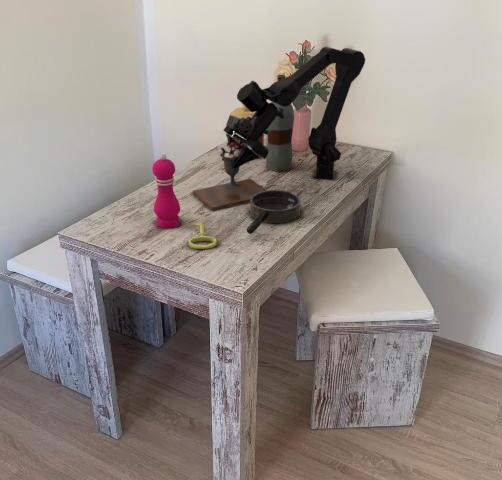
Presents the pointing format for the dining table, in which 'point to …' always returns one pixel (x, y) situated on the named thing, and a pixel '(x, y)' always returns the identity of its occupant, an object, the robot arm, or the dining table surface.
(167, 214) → the pepper mill
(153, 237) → the dining table surface
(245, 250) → the dining table surface
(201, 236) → the key
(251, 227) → the skillet handle
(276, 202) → the skillet
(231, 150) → the sundae
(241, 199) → the walnut board
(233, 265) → the dining table surface
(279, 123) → the bottle
